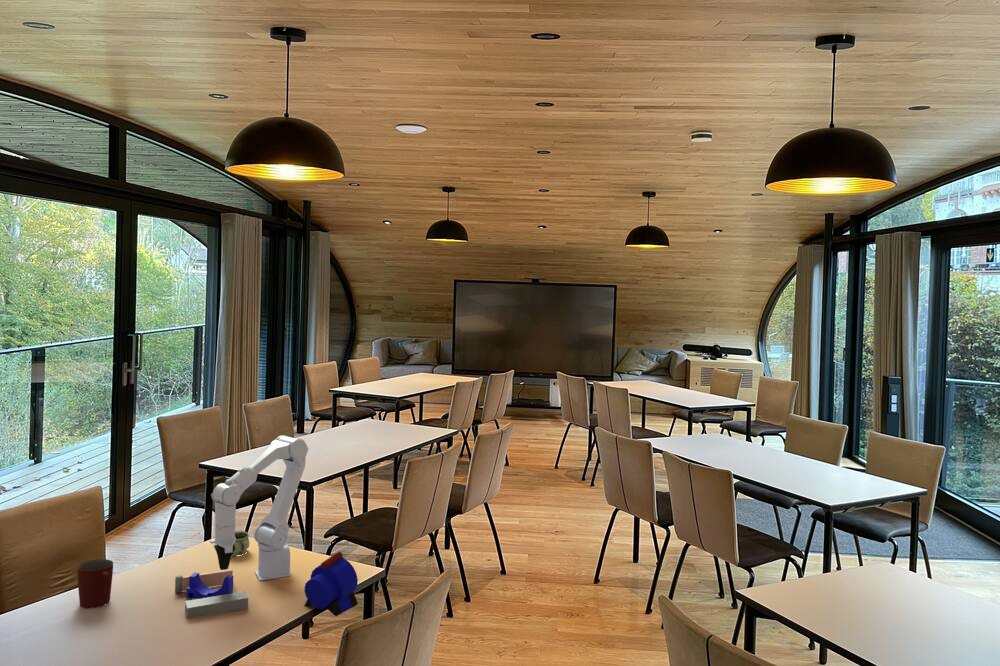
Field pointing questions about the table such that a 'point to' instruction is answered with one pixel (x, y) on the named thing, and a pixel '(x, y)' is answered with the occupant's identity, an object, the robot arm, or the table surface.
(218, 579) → the bar
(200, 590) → the blue pipe saddle
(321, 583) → the blue electric motor
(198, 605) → the grey rectangular block
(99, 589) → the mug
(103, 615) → the table surface
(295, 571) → the table surface
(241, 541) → the vessel
